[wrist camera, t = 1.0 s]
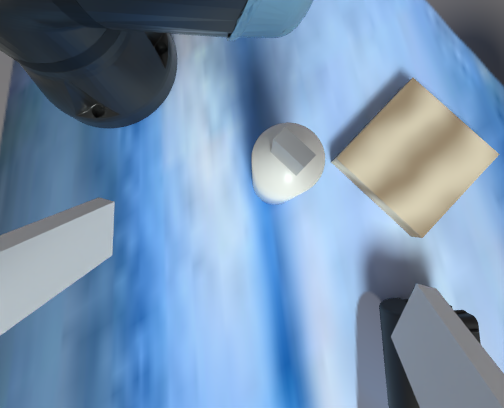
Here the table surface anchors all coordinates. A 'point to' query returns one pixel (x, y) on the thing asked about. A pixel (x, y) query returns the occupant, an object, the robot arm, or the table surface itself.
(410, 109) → the oak board
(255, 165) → the white bottle
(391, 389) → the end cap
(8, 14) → the robot arm
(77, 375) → the table surface
